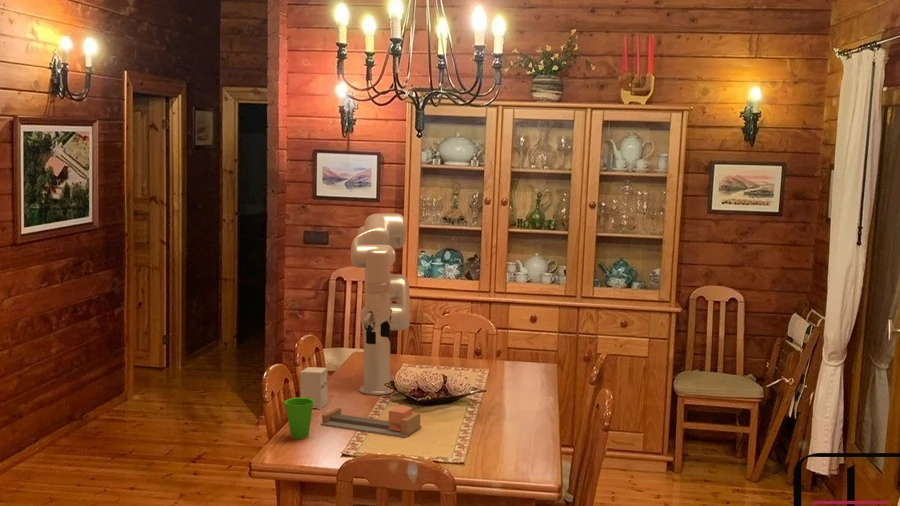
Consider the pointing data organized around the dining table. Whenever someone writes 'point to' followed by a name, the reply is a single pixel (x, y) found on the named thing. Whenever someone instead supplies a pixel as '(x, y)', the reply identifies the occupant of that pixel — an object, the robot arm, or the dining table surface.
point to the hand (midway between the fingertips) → (378, 340)
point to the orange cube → (398, 417)
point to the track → (371, 423)
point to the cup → (299, 416)
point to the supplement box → (314, 385)
